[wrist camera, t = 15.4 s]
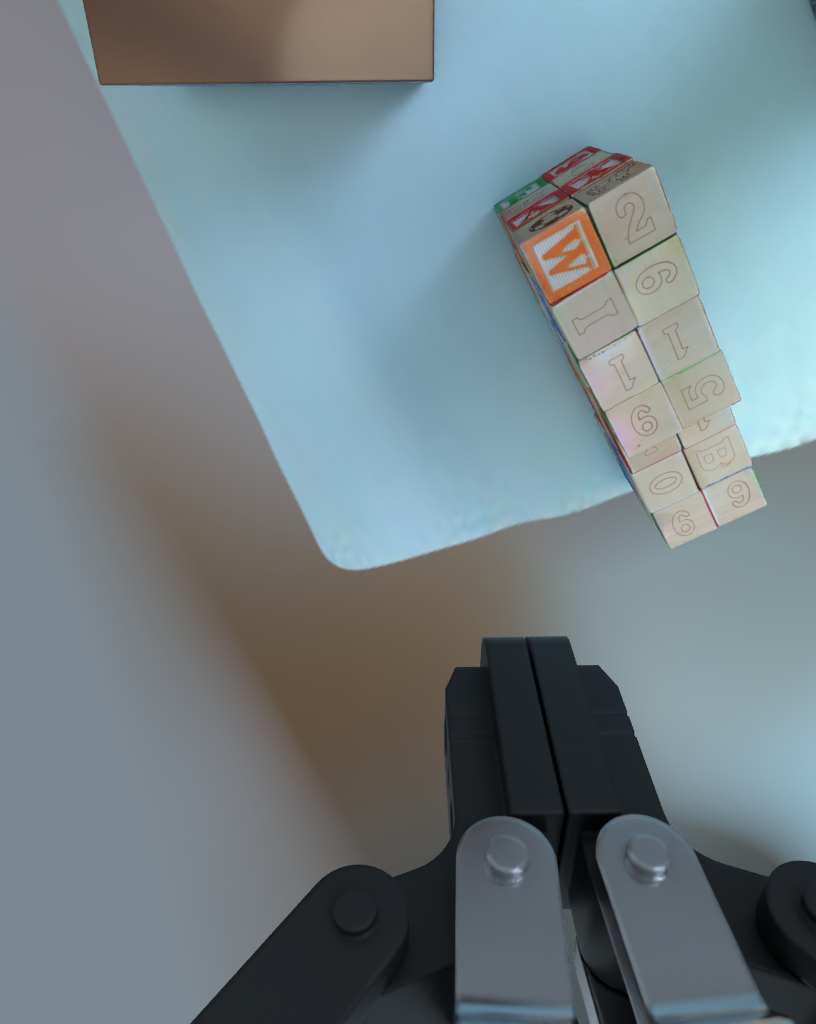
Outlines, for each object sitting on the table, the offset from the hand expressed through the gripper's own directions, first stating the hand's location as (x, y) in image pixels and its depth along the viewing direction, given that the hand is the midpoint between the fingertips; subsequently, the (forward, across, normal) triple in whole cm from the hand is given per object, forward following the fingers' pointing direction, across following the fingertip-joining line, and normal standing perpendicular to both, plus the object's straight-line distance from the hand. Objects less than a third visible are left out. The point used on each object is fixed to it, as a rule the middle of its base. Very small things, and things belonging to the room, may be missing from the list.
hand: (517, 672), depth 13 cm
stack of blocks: (+35, -11, +4) cm, 37 cm away
